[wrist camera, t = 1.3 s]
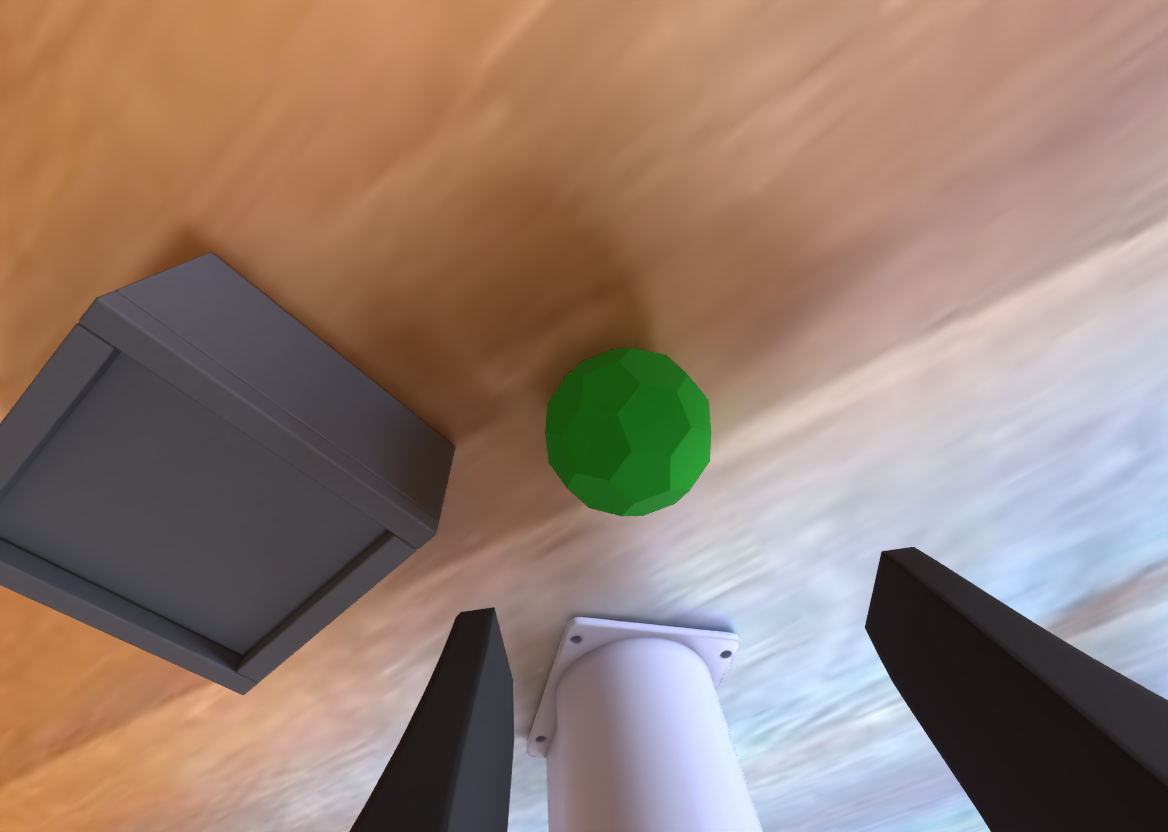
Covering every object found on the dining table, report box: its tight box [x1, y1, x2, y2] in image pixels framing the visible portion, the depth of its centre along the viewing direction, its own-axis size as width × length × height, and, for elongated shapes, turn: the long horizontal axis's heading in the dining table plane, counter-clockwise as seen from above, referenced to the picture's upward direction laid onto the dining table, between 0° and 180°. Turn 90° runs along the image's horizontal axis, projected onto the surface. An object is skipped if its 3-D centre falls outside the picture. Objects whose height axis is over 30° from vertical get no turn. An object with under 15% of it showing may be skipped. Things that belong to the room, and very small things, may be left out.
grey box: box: [0, 252, 455, 695], centre depth 16 cm, size 9×9×5 cm
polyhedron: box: [545, 348, 711, 516], centre depth 16 cm, size 5×5×5 cm
